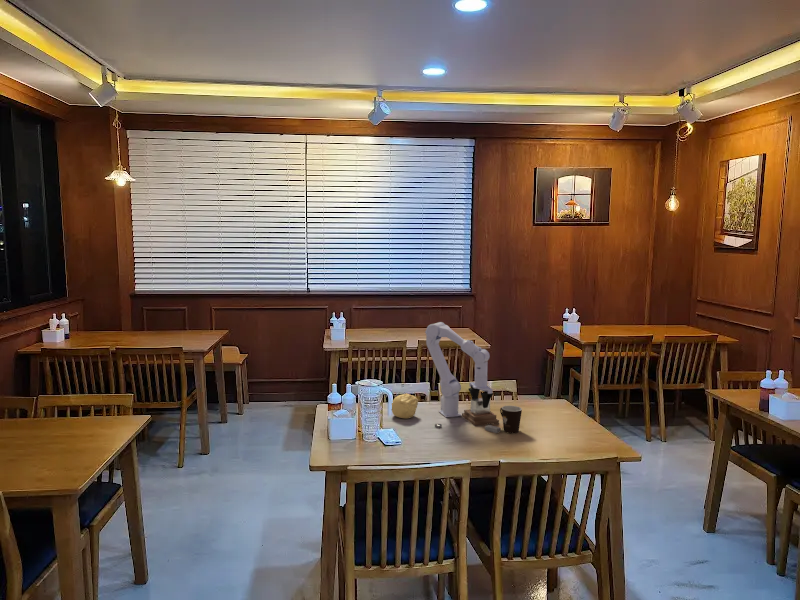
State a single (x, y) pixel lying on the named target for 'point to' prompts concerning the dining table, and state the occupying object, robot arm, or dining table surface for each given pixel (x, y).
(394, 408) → the tan rounded lump
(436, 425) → the steel nut
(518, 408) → the coffee mug
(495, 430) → the grey offcut
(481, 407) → the block
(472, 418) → the stand
